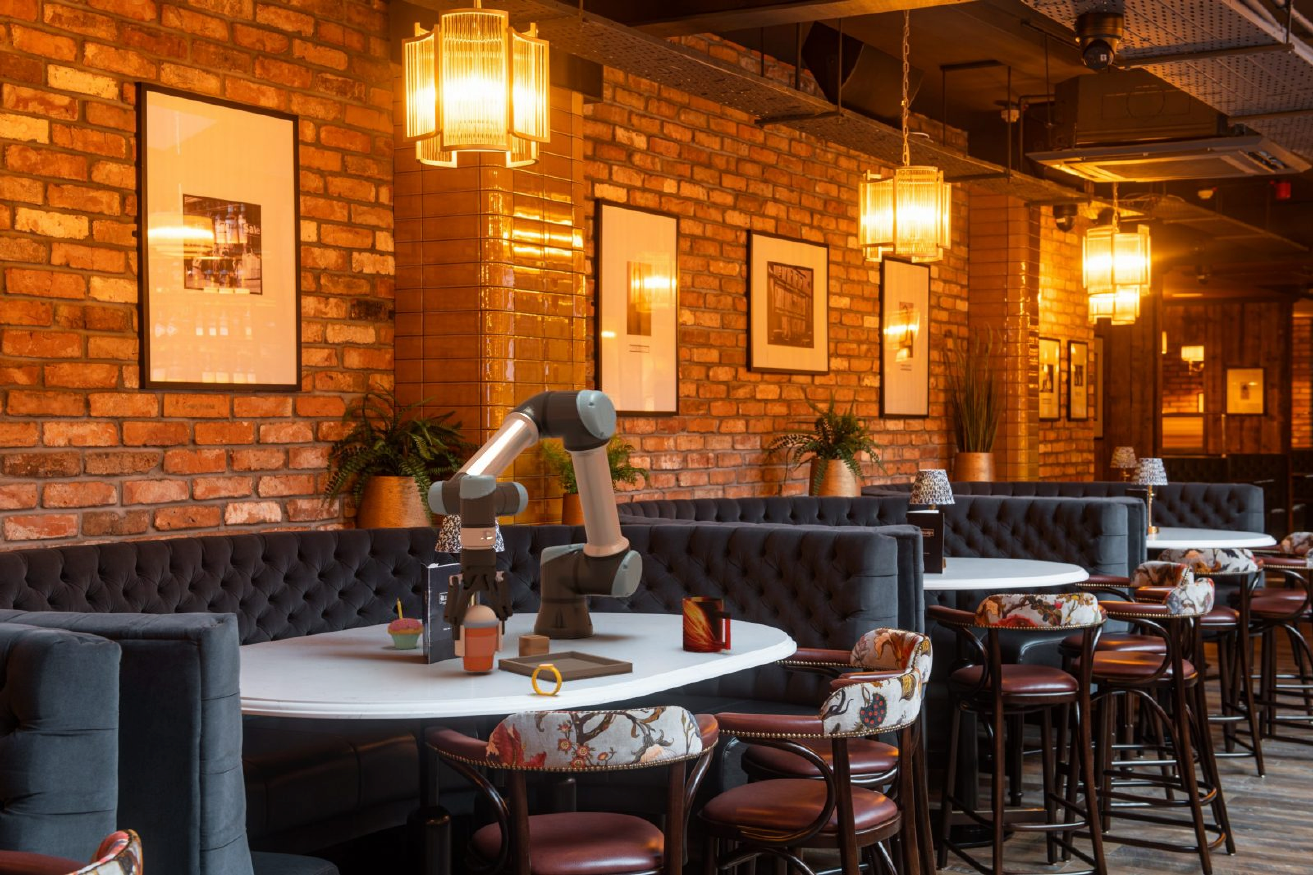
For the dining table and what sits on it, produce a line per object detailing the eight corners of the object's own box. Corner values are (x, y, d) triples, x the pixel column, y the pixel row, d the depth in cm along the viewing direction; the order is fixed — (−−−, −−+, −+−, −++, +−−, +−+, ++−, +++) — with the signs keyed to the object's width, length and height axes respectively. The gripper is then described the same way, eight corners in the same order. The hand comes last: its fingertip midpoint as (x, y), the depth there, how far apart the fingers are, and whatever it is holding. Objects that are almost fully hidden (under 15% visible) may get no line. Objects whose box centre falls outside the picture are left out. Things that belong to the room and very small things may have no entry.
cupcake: (398, 651, 324) (398, 600, 324) (380, 647, 331) (381, 597, 331) (430, 648, 330) (430, 597, 330) (412, 644, 336) (412, 594, 336)
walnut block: (518, 658, 314) (518, 636, 314) (537, 656, 317) (537, 634, 317) (530, 661, 310) (530, 639, 310) (549, 659, 313) (549, 637, 313)
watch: (530, 696, 269) (528, 665, 269) (537, 694, 271) (535, 663, 272) (557, 696, 266) (555, 665, 267) (564, 694, 269) (562, 663, 269)
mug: (729, 655, 319) (729, 603, 319) (675, 651, 326) (675, 600, 326) (745, 649, 328) (745, 599, 328) (693, 645, 334) (693, 596, 334)
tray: (498, 668, 300) (498, 659, 300) (573, 659, 312) (573, 650, 312) (555, 682, 282) (555, 672, 282) (632, 672, 295) (632, 663, 295)
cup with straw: (460, 674, 288) (459, 588, 287) (454, 666, 296) (453, 583, 296) (503, 671, 290) (502, 586, 290) (495, 664, 299) (495, 581, 299)
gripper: (443, 551, 283) (443, 661, 284) (529, 545, 297) (530, 650, 297) (425, 549, 289) (425, 656, 289) (510, 543, 303) (511, 645, 303)
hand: (478, 653), depth 293 cm, fingers closed on cup with straw, 8 cm apart
